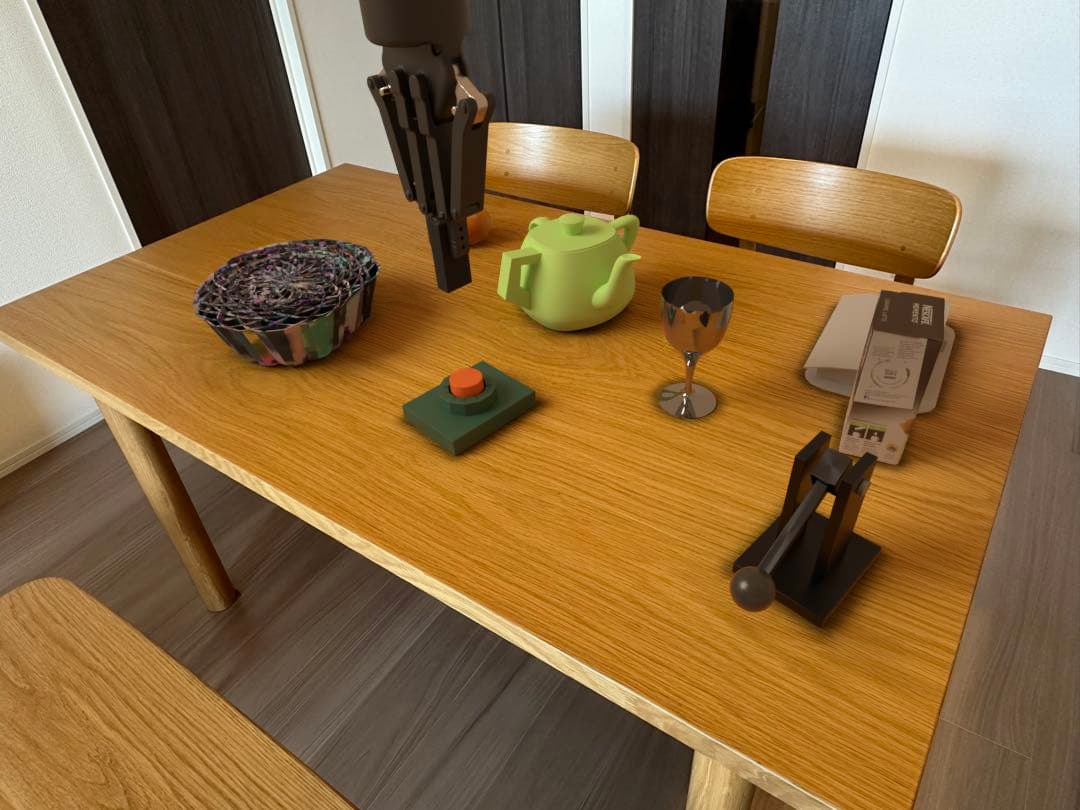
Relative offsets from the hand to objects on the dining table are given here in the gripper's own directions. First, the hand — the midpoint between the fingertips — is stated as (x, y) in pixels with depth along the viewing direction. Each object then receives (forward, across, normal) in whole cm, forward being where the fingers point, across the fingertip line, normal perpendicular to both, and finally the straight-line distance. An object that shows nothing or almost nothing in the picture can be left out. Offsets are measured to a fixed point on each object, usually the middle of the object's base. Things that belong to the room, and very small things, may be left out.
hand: (455, 284), depth 61 cm
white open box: (+25, -21, -52) cm, 61 cm away
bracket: (+24, -31, -14) cm, 42 cm away
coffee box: (+25, -27, -36) cm, 51 cm away
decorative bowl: (+25, +45, -3) cm, 52 cm away
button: (+21, +11, -7) cm, 24 cm away
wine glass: (+25, -8, -27) cm, 37 cm away
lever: (+17, -31, -9) cm, 36 cm away
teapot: (+25, +17, -34) cm, 45 cm away
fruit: (+25, +50, -39) cm, 68 cm away
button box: (+24, +11, -7) cm, 28 cm away
